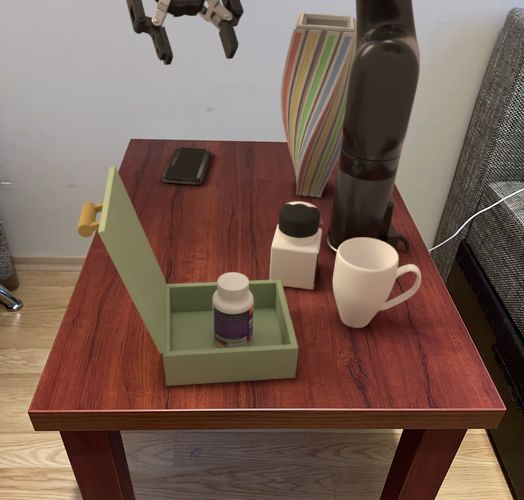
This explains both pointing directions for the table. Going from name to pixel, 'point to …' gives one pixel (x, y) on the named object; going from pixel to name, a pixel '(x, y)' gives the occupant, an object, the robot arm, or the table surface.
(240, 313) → the pill bottle
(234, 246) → the table surface
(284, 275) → the medicine bottle
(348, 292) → the mug
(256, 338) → the green open box
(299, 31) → the vase
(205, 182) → the table surface
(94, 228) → the green box lid
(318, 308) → the table surface
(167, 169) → the phone
